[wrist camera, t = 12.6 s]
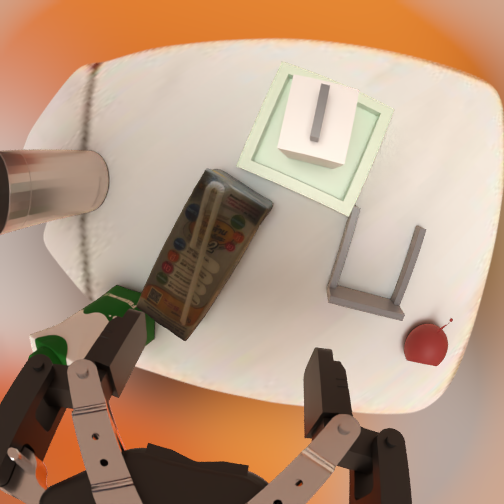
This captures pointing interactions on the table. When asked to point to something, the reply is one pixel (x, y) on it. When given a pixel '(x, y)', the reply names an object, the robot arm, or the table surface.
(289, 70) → the tray
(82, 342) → the milk carton
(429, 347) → the fruit
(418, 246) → the bay
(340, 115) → the white tall block
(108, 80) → the table surface
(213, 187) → the beverage carton
